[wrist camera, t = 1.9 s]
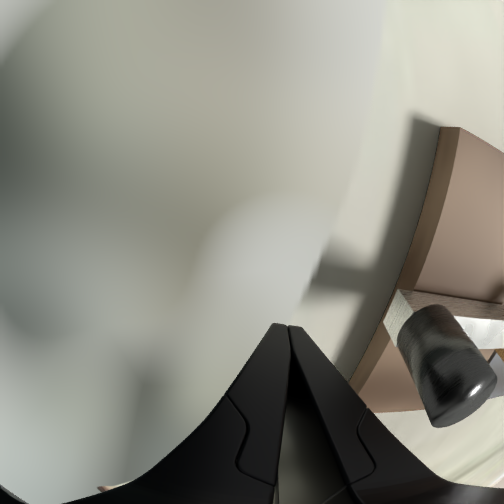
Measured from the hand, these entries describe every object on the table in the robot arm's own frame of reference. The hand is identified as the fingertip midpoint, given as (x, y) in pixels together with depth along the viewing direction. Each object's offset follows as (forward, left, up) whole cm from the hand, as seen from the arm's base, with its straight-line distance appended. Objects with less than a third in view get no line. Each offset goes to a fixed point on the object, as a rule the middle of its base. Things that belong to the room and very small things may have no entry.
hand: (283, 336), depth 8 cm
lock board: (0, -15, -4) cm, 16 cm away
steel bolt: (0, -8, -3) cm, 9 cm away
